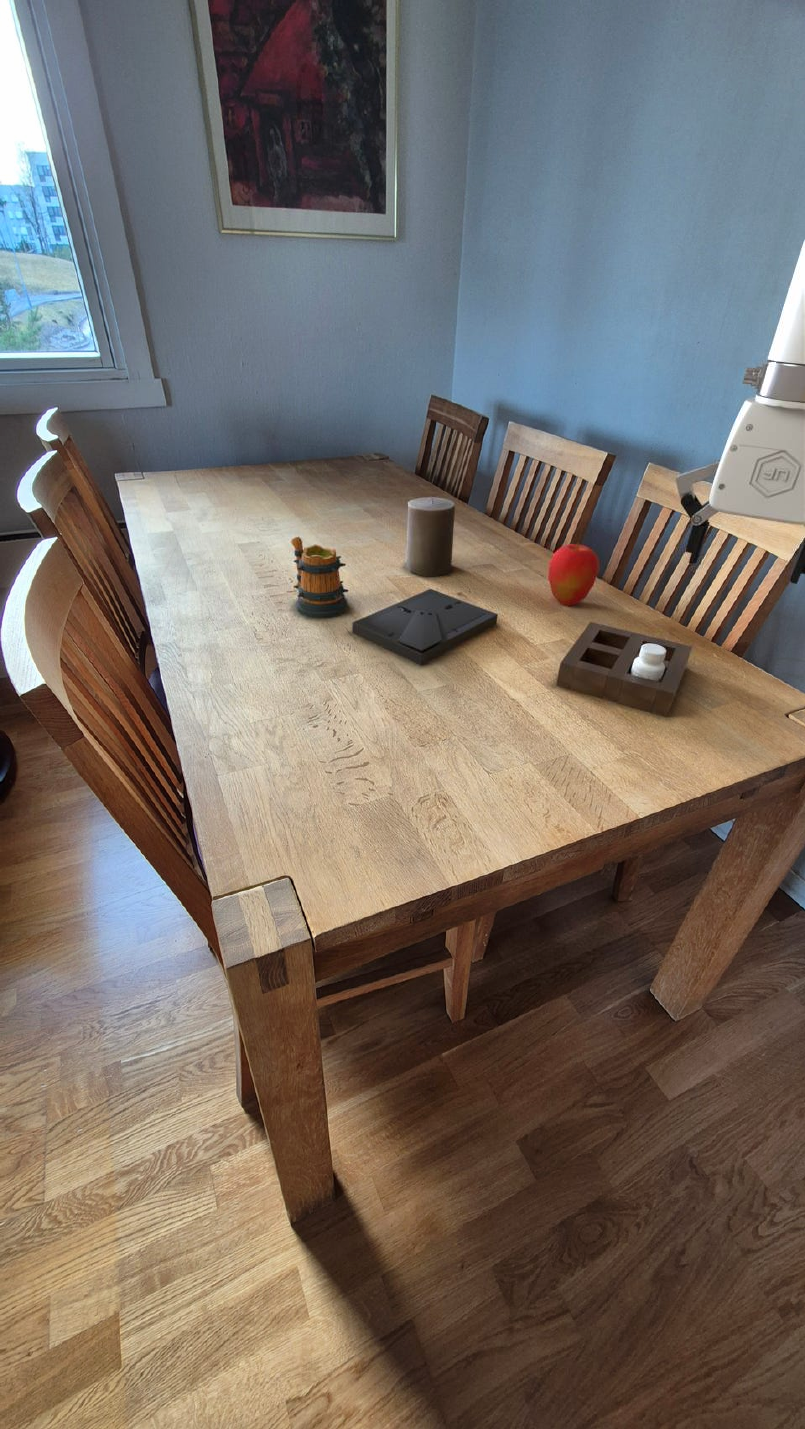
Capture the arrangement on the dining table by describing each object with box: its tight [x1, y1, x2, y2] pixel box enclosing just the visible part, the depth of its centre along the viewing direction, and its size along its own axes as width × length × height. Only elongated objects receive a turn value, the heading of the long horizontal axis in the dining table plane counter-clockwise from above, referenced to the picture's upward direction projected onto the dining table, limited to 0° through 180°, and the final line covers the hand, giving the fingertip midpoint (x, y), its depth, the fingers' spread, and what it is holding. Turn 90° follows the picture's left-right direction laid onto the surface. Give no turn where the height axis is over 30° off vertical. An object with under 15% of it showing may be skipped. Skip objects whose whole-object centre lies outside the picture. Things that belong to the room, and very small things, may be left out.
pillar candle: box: [405, 496, 456, 577], centre depth 130 cm, size 10×10×15 cm
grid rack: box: [555, 621, 693, 718], centre depth 97 cm, size 16×16×4 cm
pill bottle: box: [630, 643, 666, 682], centre depth 92 cm, size 4×4×8 cm
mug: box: [290, 536, 349, 619], centre depth 114 cm, size 13×10×12 cm
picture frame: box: [351, 588, 499, 666], centre depth 110 cm, size 16×3×21 cm
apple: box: [547, 541, 600, 607], centre depth 118 cm, size 9×9×12 cm
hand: (742, 569), depth 66 cm, fingers open, 9 cm apart
